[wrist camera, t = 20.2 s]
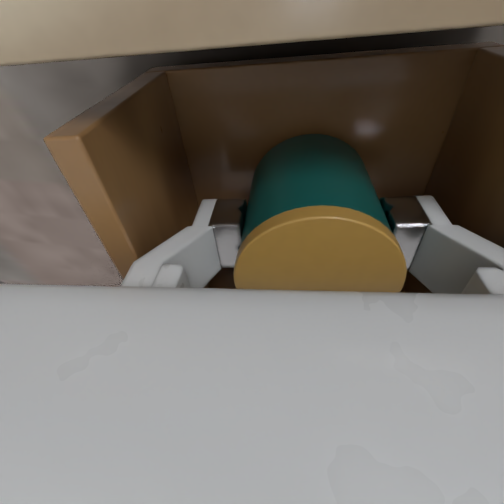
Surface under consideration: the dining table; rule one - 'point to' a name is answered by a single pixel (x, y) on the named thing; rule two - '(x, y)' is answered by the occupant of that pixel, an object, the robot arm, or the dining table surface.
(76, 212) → the dining table surface
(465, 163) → the drawer
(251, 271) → the tea tin
